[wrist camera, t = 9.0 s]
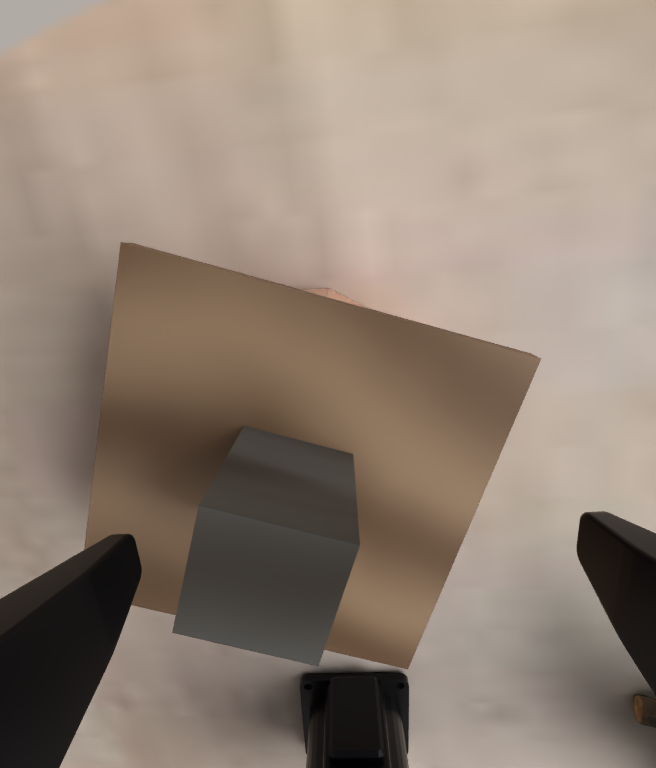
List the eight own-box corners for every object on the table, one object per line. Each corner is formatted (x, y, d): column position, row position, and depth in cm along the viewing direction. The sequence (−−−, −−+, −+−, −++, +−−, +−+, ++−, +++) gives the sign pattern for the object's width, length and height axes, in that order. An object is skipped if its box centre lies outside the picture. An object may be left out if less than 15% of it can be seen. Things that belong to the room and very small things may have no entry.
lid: (404, 651, 19) (433, 820, 13) (90, 578, 18) (-23, 723, 12) (530, 353, 15) (648, 411, 9) (132, 243, 14) (-6, 232, 8)
